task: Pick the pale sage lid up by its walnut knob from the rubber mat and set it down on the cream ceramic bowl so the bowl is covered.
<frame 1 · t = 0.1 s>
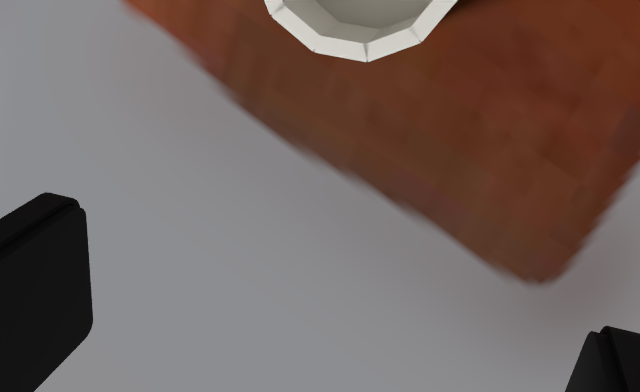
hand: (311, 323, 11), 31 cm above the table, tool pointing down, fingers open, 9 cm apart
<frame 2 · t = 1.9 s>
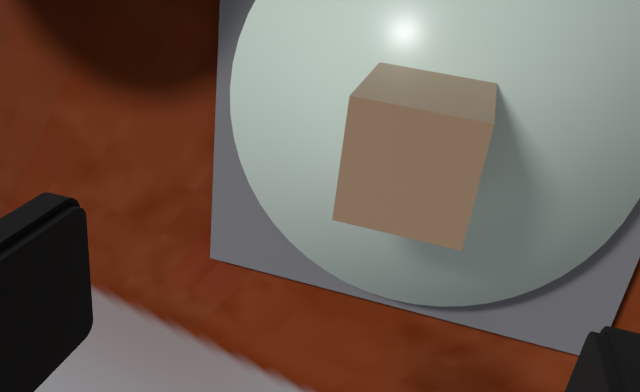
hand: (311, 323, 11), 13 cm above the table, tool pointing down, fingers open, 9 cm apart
lid: (429, 119, 22), point 1 cm above the table, touching mat
mat: (430, 115, 22), on the table
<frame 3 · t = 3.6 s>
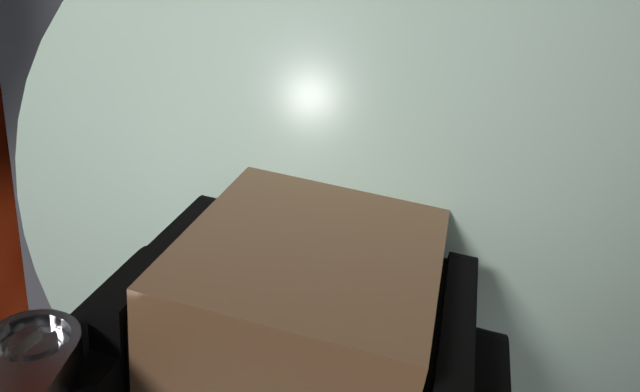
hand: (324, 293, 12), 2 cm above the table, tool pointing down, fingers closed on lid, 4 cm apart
lid: (343, 250, 13), point 1 cm above the table, touching gripper, mat
mat: (349, 238, 14), on the table
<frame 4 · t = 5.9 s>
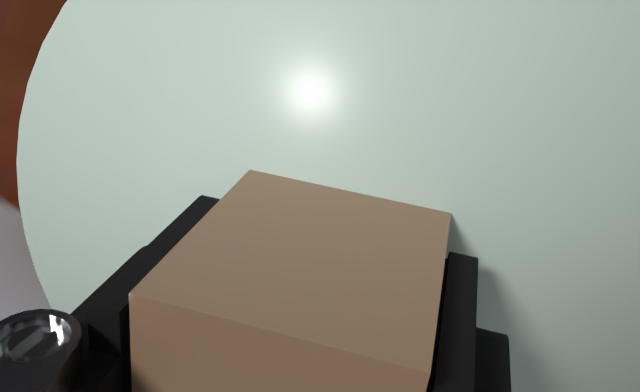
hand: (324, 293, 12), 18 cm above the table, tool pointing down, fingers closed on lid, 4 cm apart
lid: (344, 253, 13), point 16 cm above the table, touching gripper
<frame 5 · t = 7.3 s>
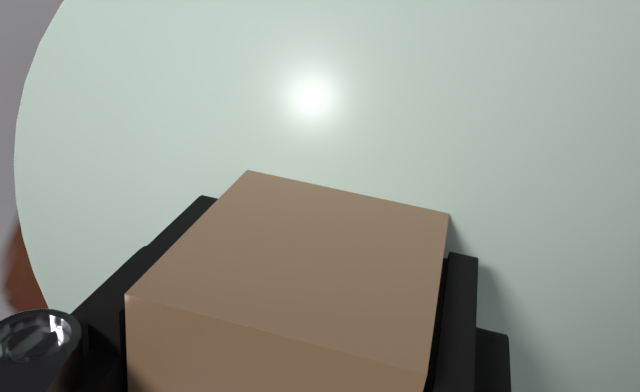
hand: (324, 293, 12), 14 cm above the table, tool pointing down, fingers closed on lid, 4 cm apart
lid: (342, 253, 13), point 12 cm above the table, touching gripper
when the fingers open (9 cm above the table, at t = 8.3 s): lid drops 2 cm, resting on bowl.
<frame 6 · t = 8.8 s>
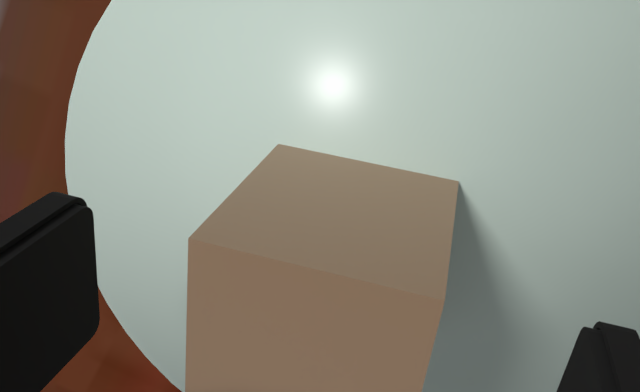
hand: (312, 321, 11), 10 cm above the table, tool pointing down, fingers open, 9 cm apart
lid: (361, 222, 15), point 6 cm above the table, touching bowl
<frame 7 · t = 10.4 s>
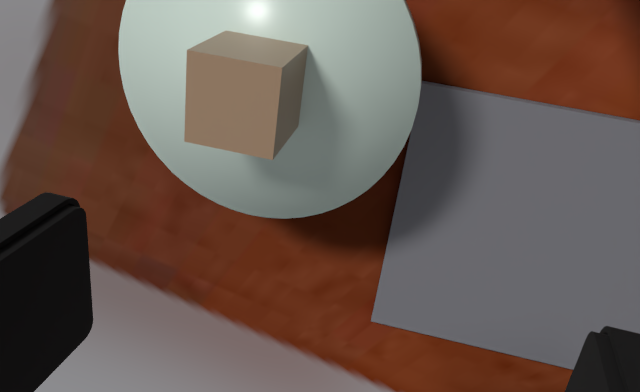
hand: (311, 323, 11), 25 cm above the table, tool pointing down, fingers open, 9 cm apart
lid: (268, 74, 29), point 6 cm above the table, touching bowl
mat: (530, 239, 37), on the table
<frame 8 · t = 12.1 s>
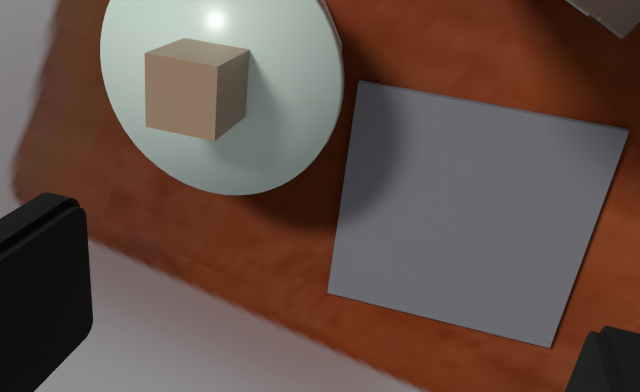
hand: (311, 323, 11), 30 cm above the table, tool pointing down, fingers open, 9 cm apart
lid: (222, 74, 36), point 6 cm above the table, touching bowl
mat: (459, 218, 42), on the table
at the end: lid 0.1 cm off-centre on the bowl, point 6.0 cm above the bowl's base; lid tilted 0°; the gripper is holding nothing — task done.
